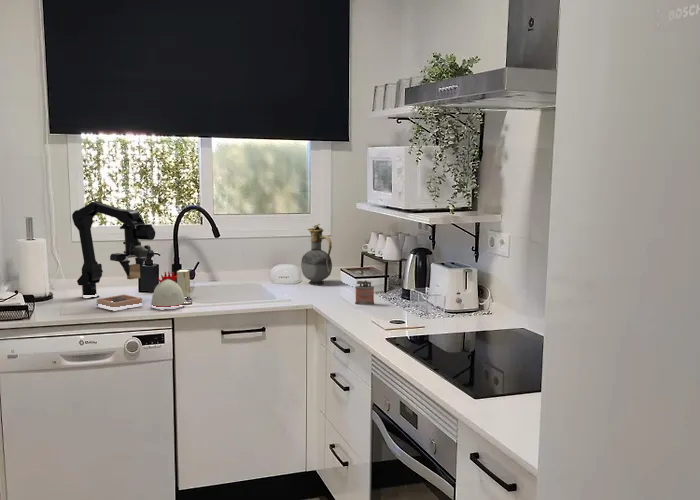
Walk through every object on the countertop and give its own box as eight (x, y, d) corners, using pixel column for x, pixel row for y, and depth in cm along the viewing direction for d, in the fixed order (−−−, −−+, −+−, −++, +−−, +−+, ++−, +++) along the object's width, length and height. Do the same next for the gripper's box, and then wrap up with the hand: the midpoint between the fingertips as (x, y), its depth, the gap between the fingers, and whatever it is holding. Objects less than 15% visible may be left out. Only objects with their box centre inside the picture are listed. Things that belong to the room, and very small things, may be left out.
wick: (127, 278, 291) (126, 265, 290) (137, 277, 294) (136, 263, 294) (130, 279, 289) (129, 265, 288) (140, 277, 293) (139, 264, 292)
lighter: (374, 303, 285) (374, 280, 284) (373, 304, 282) (373, 281, 281) (355, 302, 286) (355, 279, 285) (354, 304, 283) (354, 281, 281)
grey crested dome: (187, 308, 277) (186, 272, 275) (153, 311, 272) (151, 275, 270) (182, 302, 290) (181, 268, 288) (150, 304, 285) (148, 270, 283)
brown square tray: (97, 307, 280) (96, 298, 279) (124, 302, 290) (124, 293, 289) (114, 311, 271) (114, 302, 271) (142, 306, 282) (141, 296, 281)
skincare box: (187, 298, 296) (186, 271, 295) (177, 298, 296) (176, 271, 295) (190, 295, 303) (189, 269, 301) (181, 296, 303) (180, 269, 301)
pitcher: (315, 280, 341) (314, 221, 337) (339, 285, 327) (339, 224, 323) (298, 282, 334) (297, 223, 330) (322, 288, 320) (321, 225, 316)
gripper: (123, 242, 277) (125, 279, 279) (161, 238, 292) (162, 273, 294) (108, 240, 284) (110, 277, 286) (145, 236, 299) (147, 271, 301)
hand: (133, 274), depth 292 cm, fingers closed on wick, 5 cm apart
